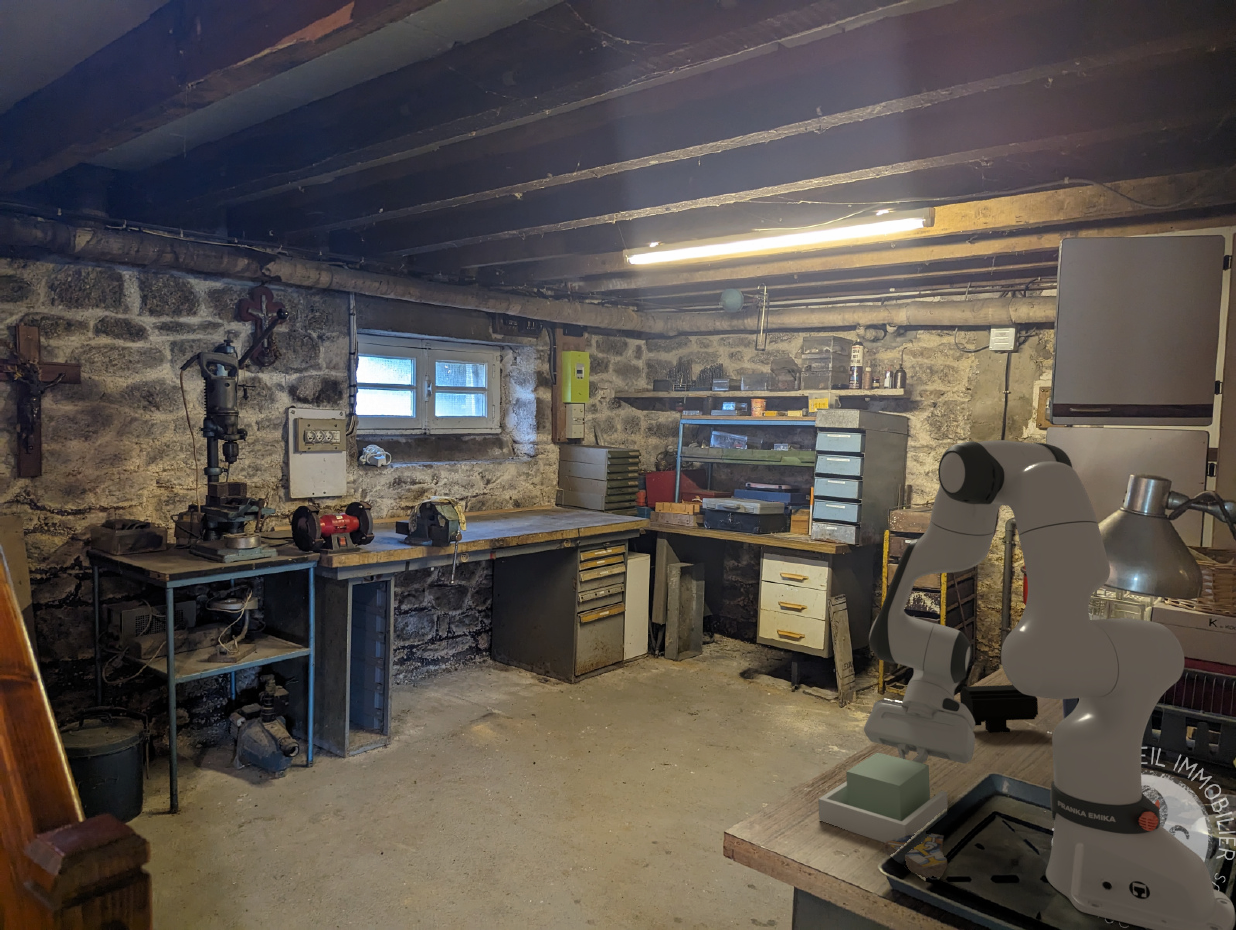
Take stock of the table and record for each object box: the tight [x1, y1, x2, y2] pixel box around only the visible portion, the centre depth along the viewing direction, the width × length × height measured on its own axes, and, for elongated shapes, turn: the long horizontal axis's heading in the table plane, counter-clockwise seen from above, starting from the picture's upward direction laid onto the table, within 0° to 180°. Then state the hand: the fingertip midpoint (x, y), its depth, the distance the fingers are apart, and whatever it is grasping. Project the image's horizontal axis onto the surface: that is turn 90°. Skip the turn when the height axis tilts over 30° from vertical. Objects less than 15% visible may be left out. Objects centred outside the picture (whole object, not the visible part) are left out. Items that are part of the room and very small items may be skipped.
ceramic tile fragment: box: [882, 833, 948, 878], centre depth 121 cm, size 12×3×10 cm
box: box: [817, 780, 949, 844], centre depth 138 cm, size 16×17×4 cm
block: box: [845, 751, 931, 821], centre depth 140 cm, size 10×12×8 cm
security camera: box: [959, 684, 1039, 734], centre depth 179 cm, size 7×18×10 cm, turn 88°
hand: (906, 770), depth 145 cm, fingers closed
